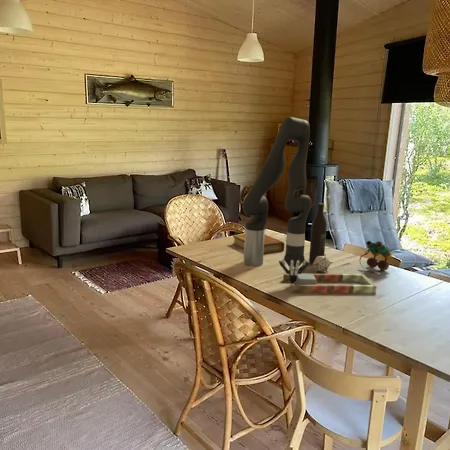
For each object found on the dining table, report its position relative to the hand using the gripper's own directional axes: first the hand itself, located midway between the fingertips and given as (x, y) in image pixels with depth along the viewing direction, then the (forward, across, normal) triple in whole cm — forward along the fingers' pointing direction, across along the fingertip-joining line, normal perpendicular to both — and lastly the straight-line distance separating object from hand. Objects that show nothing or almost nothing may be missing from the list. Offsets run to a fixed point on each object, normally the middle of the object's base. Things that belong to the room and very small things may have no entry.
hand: (292, 282), depth 186 cm
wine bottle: (+2, +18, +32) cm, 36 cm away
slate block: (+2, +6, +1) cm, 6 cm away
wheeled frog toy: (+2, +45, +24) cm, 51 cm away
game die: (+2, +17, +20) cm, 26 cm away
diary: (+2, -7, +59) cm, 60 cm away
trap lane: (+2, +16, +1) cm, 16 cm away
